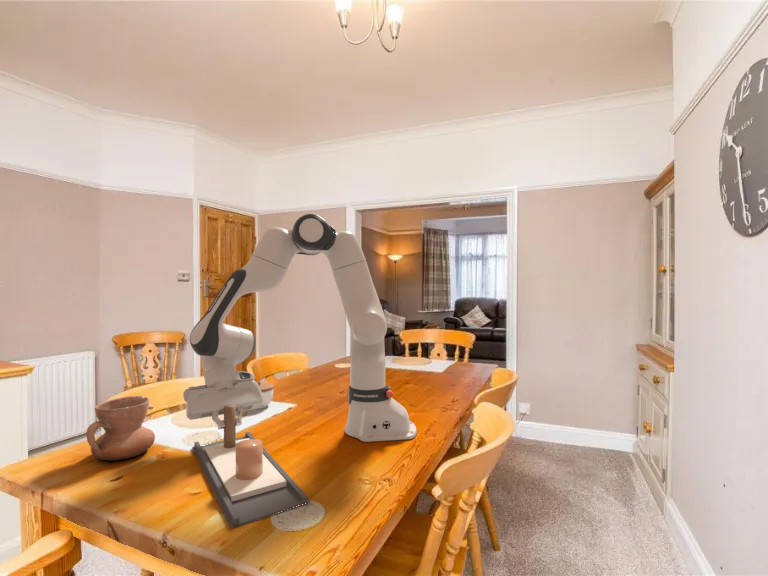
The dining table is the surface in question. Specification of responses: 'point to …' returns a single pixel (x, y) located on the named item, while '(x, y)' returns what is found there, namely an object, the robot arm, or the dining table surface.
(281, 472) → the grey rimmed tray
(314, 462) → the dining table surface
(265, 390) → the lidded jar
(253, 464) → the pink pillar candle
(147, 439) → the ceramic jug
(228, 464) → the wooden peg stand
